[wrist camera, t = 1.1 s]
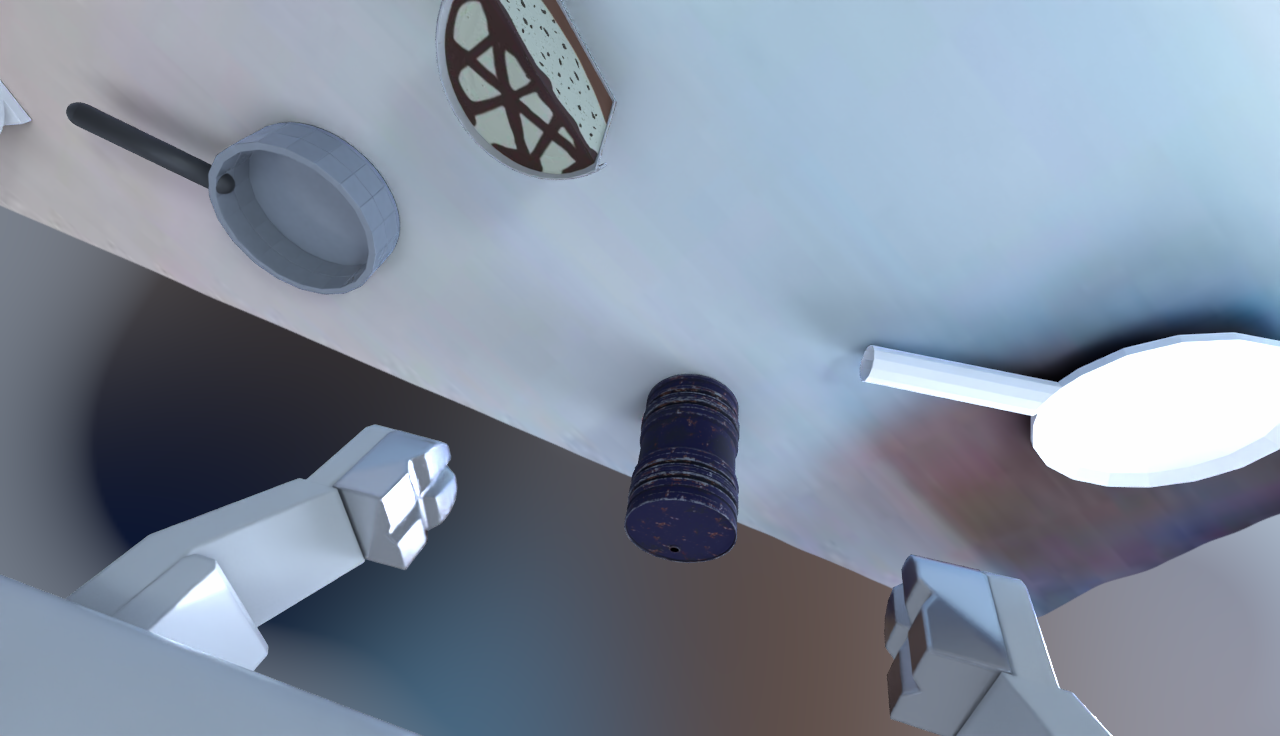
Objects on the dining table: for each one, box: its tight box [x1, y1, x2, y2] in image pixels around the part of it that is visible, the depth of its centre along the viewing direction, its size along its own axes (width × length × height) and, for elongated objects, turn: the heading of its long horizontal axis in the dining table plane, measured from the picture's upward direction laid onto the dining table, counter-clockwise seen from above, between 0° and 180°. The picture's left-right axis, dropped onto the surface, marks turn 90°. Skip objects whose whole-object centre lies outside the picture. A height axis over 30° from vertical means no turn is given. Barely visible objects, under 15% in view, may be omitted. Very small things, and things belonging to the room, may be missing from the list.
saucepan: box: [208, 122, 400, 294], centre depth 47 cm, size 13×13×4 cm
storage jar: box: [624, 374, 739, 563], centre depth 53 cm, size 10×10×15 cm
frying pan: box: [860, 332, 1280, 487], centre depth 49 cm, size 35×19×5 cm, turn 84°
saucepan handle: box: [66, 102, 235, 194], centre depth 43 cm, size 12×2×2 cm, turn 62°
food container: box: [435, 0, 616, 180], centre depth 35 cm, size 12×6×10 cm, turn 30°
